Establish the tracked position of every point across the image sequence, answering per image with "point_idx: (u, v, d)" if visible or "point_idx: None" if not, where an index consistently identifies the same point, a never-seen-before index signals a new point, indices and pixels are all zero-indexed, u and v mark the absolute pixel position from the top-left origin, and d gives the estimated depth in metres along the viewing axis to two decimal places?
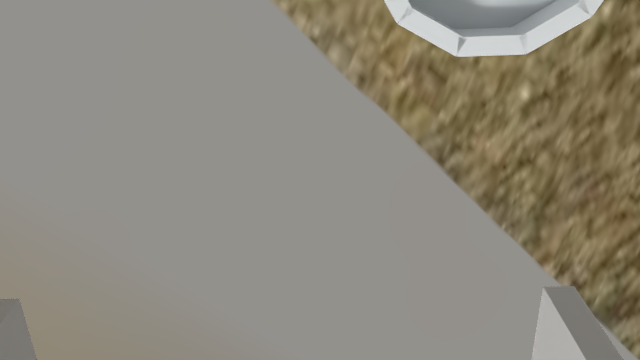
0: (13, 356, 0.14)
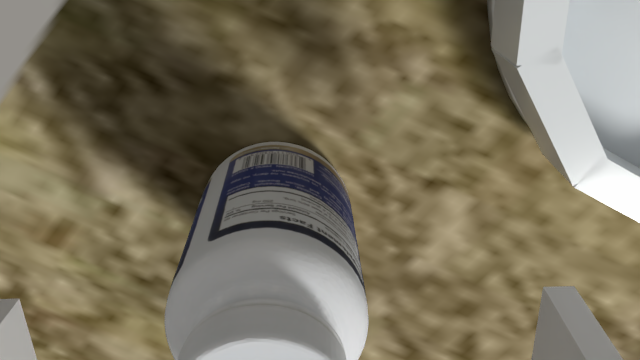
0: (13, 356, 0.14)
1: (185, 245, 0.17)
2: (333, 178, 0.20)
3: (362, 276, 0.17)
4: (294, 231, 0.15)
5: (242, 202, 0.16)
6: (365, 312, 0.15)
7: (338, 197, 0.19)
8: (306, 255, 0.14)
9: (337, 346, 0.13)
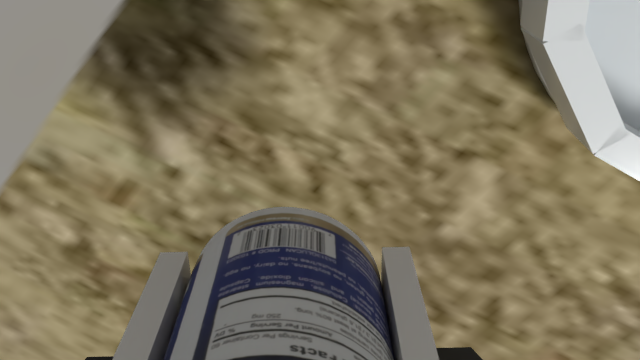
0: None
1: None
2: (361, 259, 0.15)
3: None
4: None
5: (237, 316, 0.12)
6: None
7: (368, 290, 0.14)
8: None
9: None
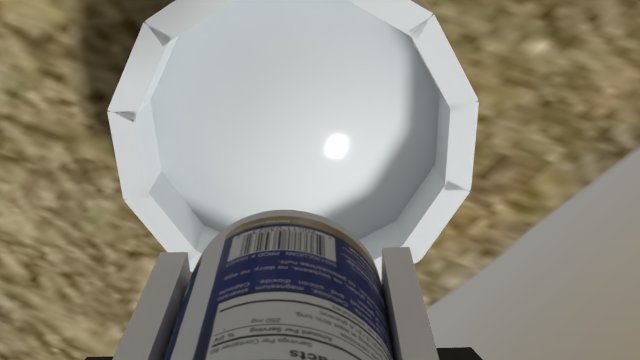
0: None
1: None
2: (361, 262, 0.15)
3: None
4: None
5: (237, 320, 0.12)
6: None
7: (369, 293, 0.14)
8: None
9: None
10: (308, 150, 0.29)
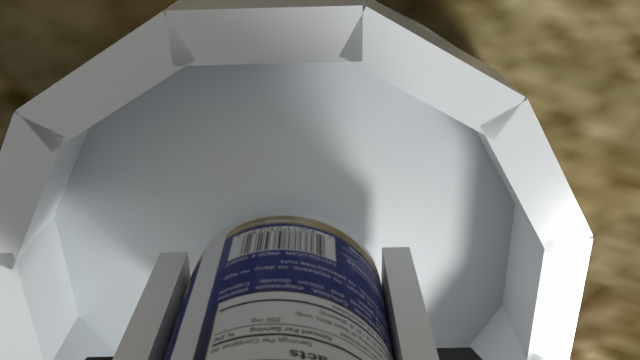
0: None
1: None
2: (361, 262, 0.15)
3: None
4: None
5: (237, 320, 0.12)
6: None
7: (369, 293, 0.14)
8: None
9: None
10: None
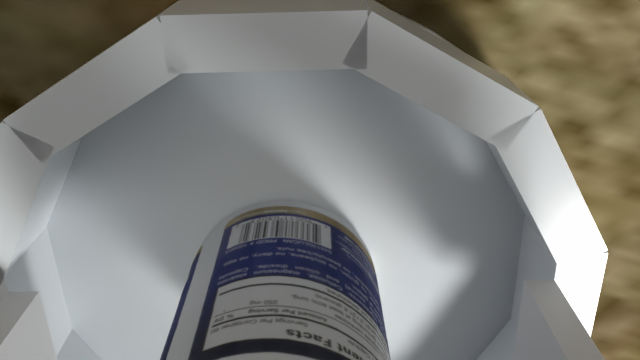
0: (33, 347, 0.15)
1: (162, 352, 0.13)
2: (356, 250, 0.15)
3: None
4: (305, 357, 0.11)
5: (236, 302, 0.12)
6: None
7: (363, 279, 0.15)
8: None
9: None
10: None
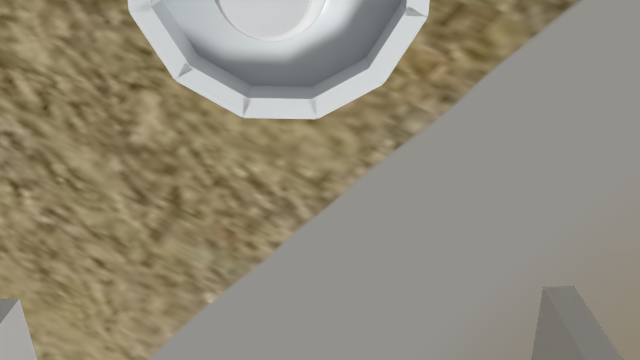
0: (13, 356, 0.14)
1: None
2: None
3: None
4: None
5: None
6: None
7: None
8: None
9: None
10: None
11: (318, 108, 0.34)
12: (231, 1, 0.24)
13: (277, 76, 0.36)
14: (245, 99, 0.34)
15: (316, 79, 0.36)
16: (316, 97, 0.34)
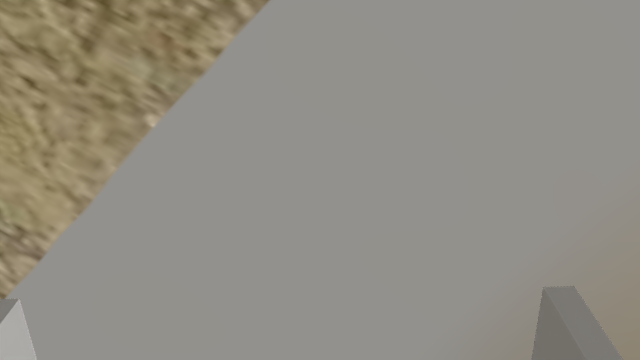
0: (13, 356, 0.14)
1: None
2: None
3: None
4: None
5: None
6: None
7: None
8: None
9: None
10: None
11: None
12: None
13: None
14: None
15: None
16: None
